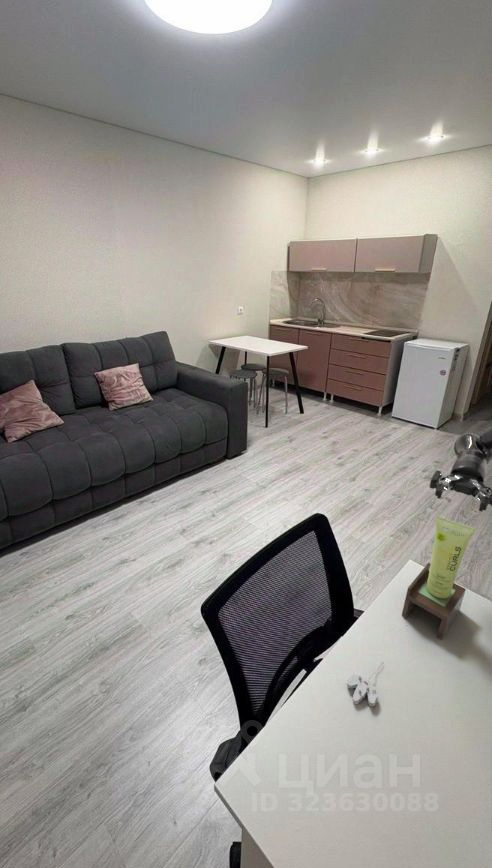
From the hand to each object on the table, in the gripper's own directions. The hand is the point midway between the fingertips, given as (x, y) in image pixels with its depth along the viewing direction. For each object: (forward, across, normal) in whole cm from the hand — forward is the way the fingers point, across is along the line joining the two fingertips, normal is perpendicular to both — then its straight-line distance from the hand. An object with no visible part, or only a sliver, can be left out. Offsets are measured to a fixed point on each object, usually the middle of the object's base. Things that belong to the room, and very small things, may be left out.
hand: (460, 501), depth 93 cm
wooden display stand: (+8, 0, +27) cm, 28 cm away
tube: (+8, 0, +21) cm, 22 cm away
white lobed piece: (+34, -6, +27) cm, 44 cm away
